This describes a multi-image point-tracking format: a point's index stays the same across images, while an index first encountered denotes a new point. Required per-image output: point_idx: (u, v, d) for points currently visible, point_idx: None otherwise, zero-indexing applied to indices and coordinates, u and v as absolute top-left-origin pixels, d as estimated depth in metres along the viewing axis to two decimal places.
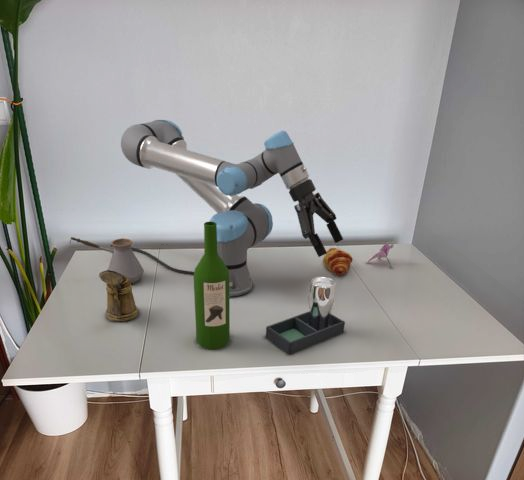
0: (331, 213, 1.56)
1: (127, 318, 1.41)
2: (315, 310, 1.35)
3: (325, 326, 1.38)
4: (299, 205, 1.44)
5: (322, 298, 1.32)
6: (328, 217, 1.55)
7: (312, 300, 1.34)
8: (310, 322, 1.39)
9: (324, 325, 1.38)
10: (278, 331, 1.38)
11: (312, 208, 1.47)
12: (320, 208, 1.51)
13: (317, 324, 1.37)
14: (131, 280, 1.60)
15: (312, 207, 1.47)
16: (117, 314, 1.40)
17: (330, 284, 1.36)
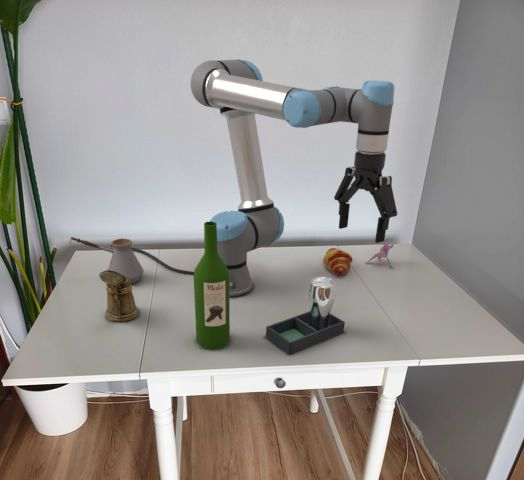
0: (344, 194, 1.37)
1: (127, 318, 1.41)
2: (315, 310, 1.35)
3: (325, 326, 1.38)
4: (390, 179, 1.22)
5: (322, 298, 1.32)
6: (349, 198, 1.35)
7: (312, 300, 1.34)
8: (310, 322, 1.39)
9: (324, 325, 1.38)
10: (278, 331, 1.38)
11: None
12: None
13: (317, 324, 1.37)
14: (131, 280, 1.60)
15: None
16: (117, 314, 1.40)
17: (330, 284, 1.36)
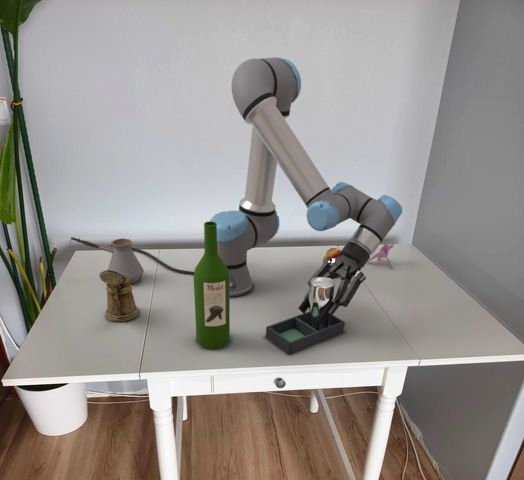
0: None
1: (127, 318, 1.41)
2: (315, 310, 1.35)
3: (325, 326, 1.38)
4: (364, 278, 1.32)
5: (322, 298, 1.32)
6: None
7: (312, 300, 1.34)
8: (310, 322, 1.39)
9: (324, 325, 1.38)
10: (278, 331, 1.38)
11: None
12: (336, 277, 1.38)
13: (317, 324, 1.37)
14: (131, 280, 1.60)
15: None
16: (117, 314, 1.40)
17: (330, 284, 1.36)
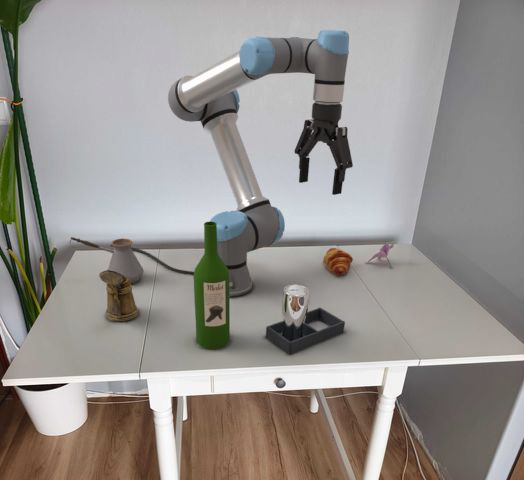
0: None
1: (127, 318, 1.41)
2: (288, 319, 1.30)
3: (299, 336, 1.33)
4: (345, 129, 1.25)
5: (295, 307, 1.27)
6: (309, 151, 1.37)
7: (285, 309, 1.29)
8: (284, 331, 1.34)
9: (298, 335, 1.33)
10: (278, 331, 1.38)
11: None
12: None
13: (291, 333, 1.32)
14: (131, 280, 1.60)
15: None
16: (117, 314, 1.40)
17: (304, 292, 1.31)
